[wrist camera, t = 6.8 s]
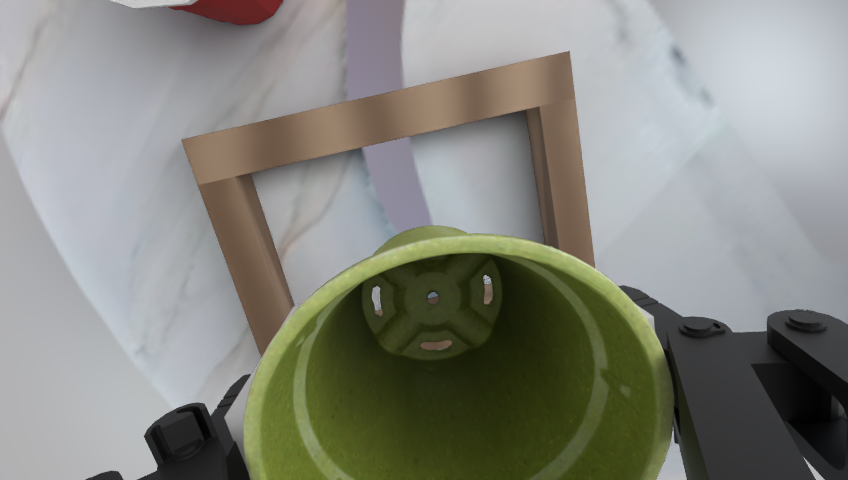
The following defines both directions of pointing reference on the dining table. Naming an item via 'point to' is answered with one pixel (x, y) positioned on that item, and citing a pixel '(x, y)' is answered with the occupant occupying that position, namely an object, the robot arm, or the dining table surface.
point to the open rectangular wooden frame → (375, 123)
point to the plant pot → (462, 371)
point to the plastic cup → (215, 8)
